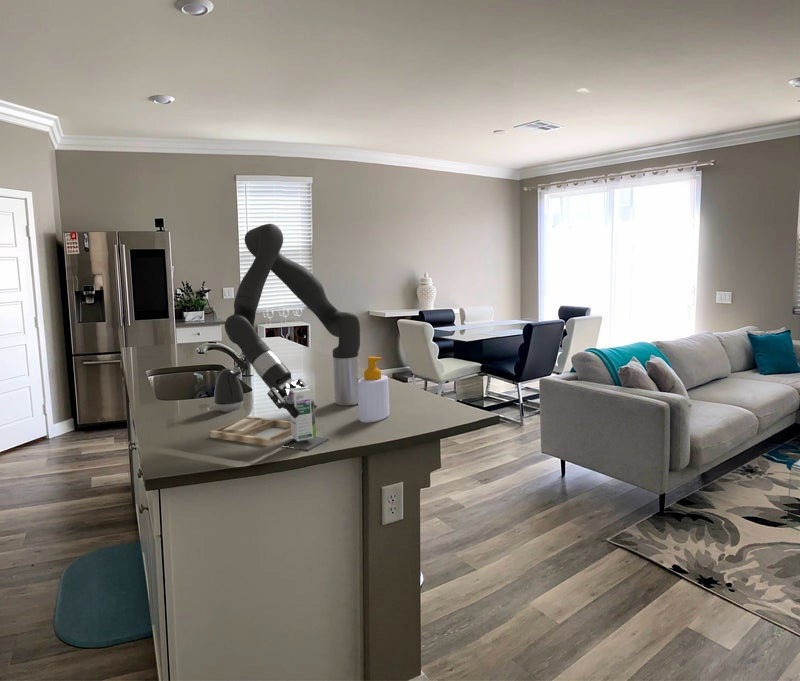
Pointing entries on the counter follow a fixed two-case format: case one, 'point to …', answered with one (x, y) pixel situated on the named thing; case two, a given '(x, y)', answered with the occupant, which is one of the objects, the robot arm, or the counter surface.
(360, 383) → the soap bottle
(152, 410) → the counter surface
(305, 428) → the syrup box
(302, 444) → the pad
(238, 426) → the offcut top
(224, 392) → the dark grey tapered dome
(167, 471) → the counter surface
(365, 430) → the counter surface
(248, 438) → the offcut rack
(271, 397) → the robot arm
